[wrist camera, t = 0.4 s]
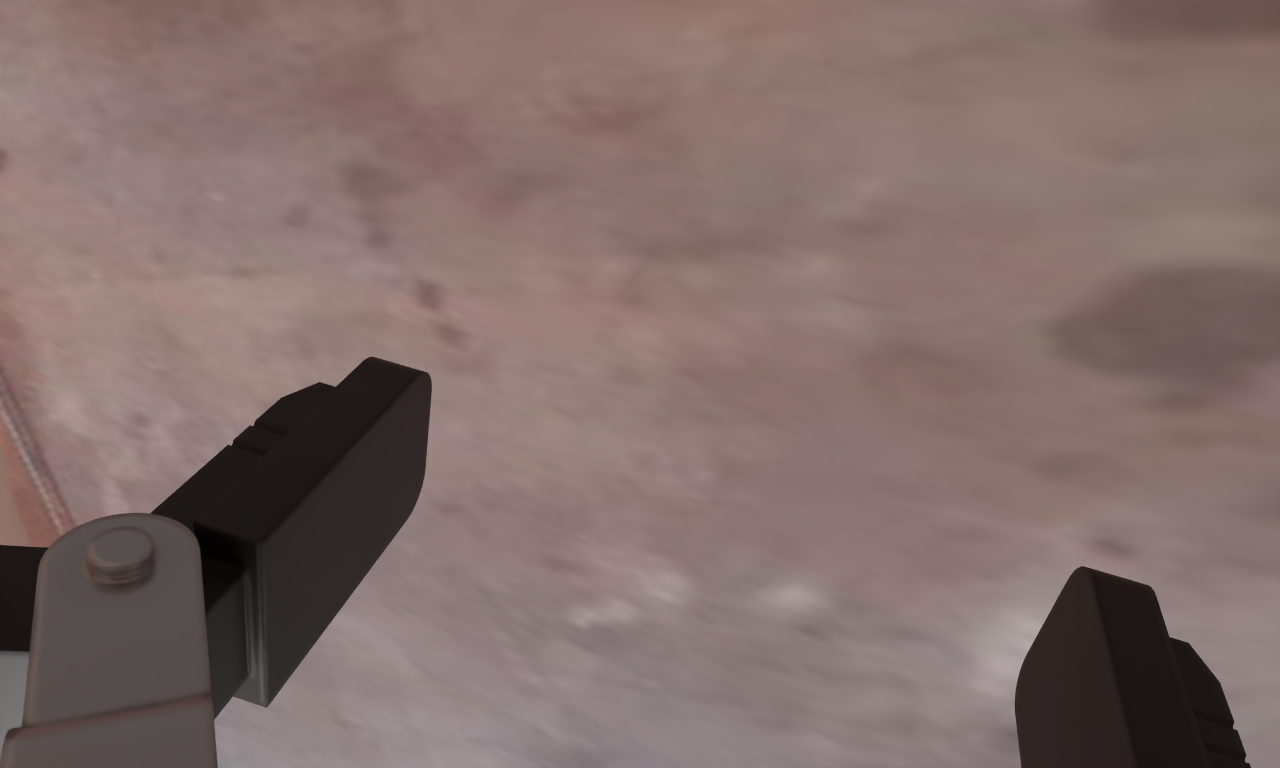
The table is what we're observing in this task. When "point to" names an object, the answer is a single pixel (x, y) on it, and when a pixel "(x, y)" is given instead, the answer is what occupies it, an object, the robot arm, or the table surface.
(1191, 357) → the table surface
